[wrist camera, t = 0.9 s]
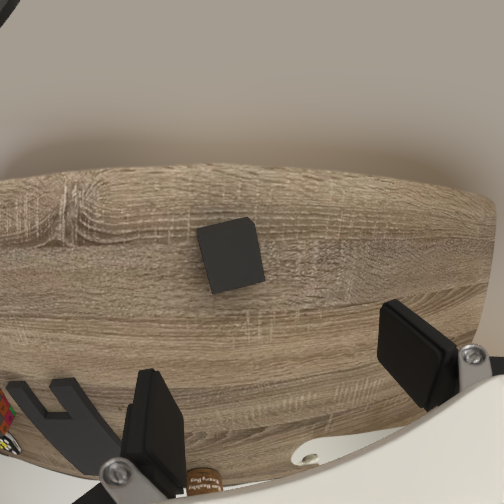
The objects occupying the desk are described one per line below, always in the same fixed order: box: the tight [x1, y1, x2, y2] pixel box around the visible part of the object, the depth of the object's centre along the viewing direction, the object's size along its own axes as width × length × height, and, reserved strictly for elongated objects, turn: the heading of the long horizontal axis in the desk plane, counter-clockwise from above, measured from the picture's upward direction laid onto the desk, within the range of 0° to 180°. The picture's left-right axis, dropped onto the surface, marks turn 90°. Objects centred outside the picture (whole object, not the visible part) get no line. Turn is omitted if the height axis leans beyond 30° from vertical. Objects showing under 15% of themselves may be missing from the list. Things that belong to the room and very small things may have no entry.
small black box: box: [197, 217, 265, 294], centre depth 24 cm, size 5×4×3 cm
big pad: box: [6, 378, 122, 476], centre depth 28 cm, size 22×13×2 cm, turn 11°
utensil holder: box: [186, 468, 223, 496], centre depth 30 cm, size 6×6×12 cm
